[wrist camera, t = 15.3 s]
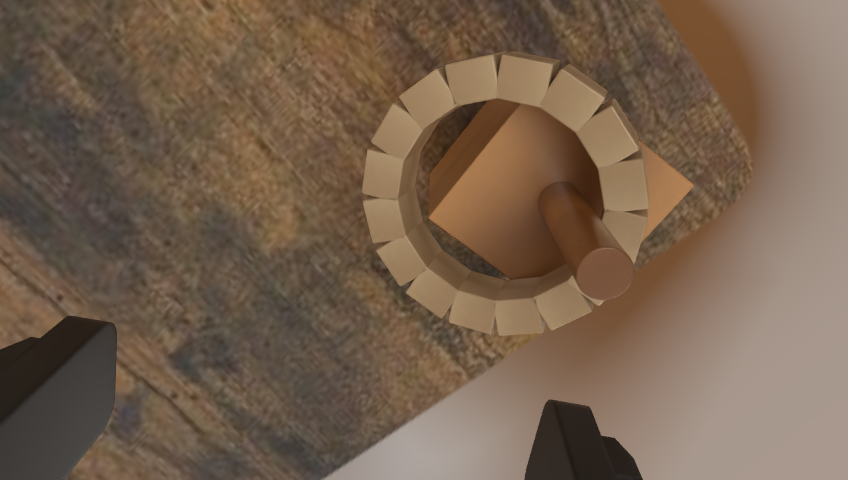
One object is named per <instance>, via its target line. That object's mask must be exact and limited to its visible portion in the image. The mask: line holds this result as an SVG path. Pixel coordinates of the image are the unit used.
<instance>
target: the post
mask: <svg viewBox="0 0 848 480" xmlns="http://www.w3.org/2000/svg"><path fill="white" fill-rule="evenodd" d="M557 74H558V73H557ZM639 147H642V148H643V153H644V161H645V168H646V176H647V184H648V192H649V208H648V221H647V224H646V228H645V231H644V234H643V237H642V241H643V240H644V239H645V238H646V237H647V236H648V235H649V234H650V233H651V231H652V230H653V229H654V228H655V227H656V226H657V225H658V224H659V223H660V222H661V221H662V220H663V219H664V218H665V217H666V215H667V214H668V213H669V212H670V211H671V210H672V209H673V208H674V207H675V206H676V205H677V204H678V203H679V202H680V201H681V199H682V198H683V197H684V196H685V195H686V194H687V193H688V192H689V191H690V190H691V189H692V188H693V187H694V185H693V184H692V183H691V182H690V181H689V180H688V179H686V178H685V177H684V176H683V175H681V174H680V173H679V172H678V171H677V170H675V169H674V168H673V167H672V166H671V165H669V164H668V163H667V162H666V161H665V160H663V159H662V158H661V157H660V156H659V155H657V154H656V153H655V152H654V151H653V150H651V149H650V148H649V147H648V146H647V145H645V144H644V143H643V142H642V141H640V140H639ZM602 211H603V200H602V193H601V187H600V180H599V173H598V168H597V167H596V165H595V164H594V162H593V160H592V159H591V157H590V156H589V154H588V152H587V151H586V149H585V148H584V146H583V144H582V143H581V141H580V140H579V138H578V136H577V135H576V133H575V132H574V131H572V130H571V129H570V128H568V127H567V126H565V125H564V124H562V123H561V122H560V121H558V120H557V119H555V118H554V117H552V116H551V115H550V114H548V113H547V112H545V111H544V110H542V109H541V108H540V107H535V106H530V105H526V104H521V103H516V102H512V101H507V100H502V99H498V98H497V99H492V100H487V102H486V103H485V104H484V105H483V107H482V108H481V109H480V110H479V112H478V113H477V114H476V116H475V117H474V118H473V119H472V121H471V122H470V123H469V124H468V126H467V127H466V128H465V129H464V131H463V132H462V133H461V135H460V136H459V137H458V138H457V140H456V141H455V142H454V143H453V145H452V146H451V147H450V148H449V150H448V151H447V152H446V154H445V155H444V156H443V157H442V159H441V160H440V161H439V162H438V164H437V165H436V166H435V167H434V169H433V170H432V171H431V173H430V179H429V204H428V219H430V220H431V221H432V222H434V223H435V224H436V225H438V226H439V227H440V228H442V229H443V230H444V231H446V232H447V233H449V234H450V235H451V236H453V237H454V238H455V239H457V240H458V241H459V242H461V243H462V244H463V245H465V246H466V247H468V248H469V249H470V250H472V251H473V252H474V253H476V254H477V255H478V256H480V257H481V258H482V259H484V260H485V261H487V262H488V263H489V264H491V265H492V266H493V267H495V268H496V269H497V270H499V271H500V272H501V273H503V274H504V275H506V276H507V277H508V278H510V279H511V280H513V279H523V278H534V277H542V276H544V275H546V274H548V273H550V272H551V271H553V270H555V269H557V268H559V267H561V266H563V265H565V264H567V265H568V267H569V269H570V271H571V273H572V275H573V277H574V279H575V281H576V283H577V285H578V287H579V288H580V290H581V291H582V292H583V293H584V294H585V295H587V296H588V297H590V298H593V299H596V300H610V299H613V298H615V297H618V296H619V295H621V294H623V293H624V292H625V291H626V290H627V289H628V287H629V286H630V285H631V282H632V280H633V277H634V265H633V262H632V260H631V258H630V257H629V255H628V254H627V253H626V252H625V250H624V249H623V248H622V246H621V245H620V244H619V243H618V241H617V240H616V239H615V237H614V236H613V235H612V234H611V232H610V231H609V230H608V228H607V227H606V226H605V225H604V223H603V222H602V221H601V219H600V218H601V214H602ZM642 241H641V242H642Z"/></svg>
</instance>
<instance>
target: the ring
mask: <svg viewBox="0 0 848 480" xmlns="http://www.w3.org/2000/svg"><path fill="white" fill-rule="evenodd" d="M559 65H560V60H557V59H552V58H547V57H542V56H537V55H532V54H527V53H522V52H517V51H513V52H509V53H506V54H505V52H504V51H502V52H498V53H493V54H489V55H484V56H480V57H475V58H471V59H466V60H462V61H457V62H453V63H449V64H446V65H445V67H442V68H438V69H435V70H434V71H432V72H431V73H429V74H428V75H427V76H425V77H424V78H423V79H421V80H420V81H419V82H417V83H416V84H414V85H413V86H412V87H410V88H409V89H408V90H406V91H405V92H404V93H402V94H401V95H400V96H399V98H400V100H401V101H398V102H395V103H393V104H392V105H391V107H390V109H389V110H388V112H387V114H386V115H385V117H384V119H383V121H382V122H381V124H380V126H379V127H378V129H377V131H376V133H375V134H374V136H373V138H372V139H371V142H372V143H373V144H374V145H376V146H374V147H372V148H370V149H368V150H367V156H366V164H365V171H364V178H363V186H362V193H363V194H367V195H371V196H370V197H368V198H367V199H365V200H364V201H363V206H364V210H365V214H366V218H367V223H368V227H369V231H370V235H371V239H372V242H373V243H380V242H385V243H384V244H383V245H381V246H380V247H379V248H378V249H377V250H376V251H377V253H378V255H379V256H380V258H381V259H382V261H383V262H384V264H385V265H386V267H387V268H388V269H389V271H390V272H391V274H392V275H393V277H394V278H395V280H396V281H397V283H398V284H399V286H403V285H405V284H406V283H408V282H410V281H412V280H413V279H414V281H413V282H412V284H411V285H410V287H409V288H408V290H407V291H406V293H407V294H408V295H409V296H411V297H412V298H413V299H415V300H416V301H418V302H419V303H420V304H422V305H423V306H424V307H426V308H427V309H428V310H430V311H431V312H433V313H434V314H435V315H437V316H438V317H439V318H442V317H443V316H444V315H445V313H446V312H447V311H448V309H449V308H450V307H451V311H450V316H449V322H450V323H453V324H456V325H460V326H463V327H466V328H470V329H473V330H476V331H480V332H483V333H487V334H491V333H492V331H493V329H494V327H495V325H497V330H498V334H499V336H504V335H519V334H534V333H543V332H544V329H545V325H546V323H547V325H548V326H549V328H550V329H551V330H554V329H556V328H558V327H560V326H562V325H565V324H566V323H569V322H571V321H573V320H574V319H577V318H579V317H581V316H583V315H586V314H588V313H590V312H591V311H592V309H593V302H594V303H595V304H597V305H598V306H600V305H601V304H602V303H603V302H604V300H596V299H593V298H590V297H588V296H587V295H585V294H584V293H583V292H582V291H581V290H580V288H579V287H578V285H577V283H576V281H575V279H574V277H573V275H572V273H571V271H570V269H569V267H568V265H567V264H565V265H563V266H561V267H559V268H557V269H555V270H553V271H551V272H550V273H548V274H546V275H544V276H542V277H534V278H523V279H513V280H503V279H499V278H495V277H492V276H488V275H485V274H481V273H477V272H474V271H471V270H470V269H468V268H467V267H466V266H464V265H463V264H461V263H460V262H459V261H457V260H456V259H455V258H453V257H452V256H450V255H449V254H448V253H446V252H445V251H443V250H442V249H441V247H440V246H439V244H438V243H437V241H436V240H435V238H434V237H433V235H432V234H431V232H430V231H429V229H428V228H427V226H426V225H425V223H424V222H423V220H422V215H421V211H420V206H419V202H418V197H417V193H416V188H415V184H416V178H417V172H418V166H419V160H420V154H421V150H422V148H423V147H424V145H425V144H426V142H427V140H428V139H429V137H430V136H431V134H432V132H433V131H434V129H435V128H436V126H437V125H438V123H439V121H440V120H442V119H443V118H445V117H446V116H448V115H449V114H450V113H452V112H453V111H455V110H456V109H458V108H459V107H461V106H462V105H466V104H471V103H476V102H482V101H487V100H492V99H497V98H498V99H502V100H507V101H512V102H516V103H521V104H526V105H530V106H535V107H540V108H541V109H542V110H544V111H545V112H547V113H548V114H550V115H551V116H552V117H554V118H555V119H557V120H558V121H560V122H561V123H562V124H564V125H565V126H567V127H568V128H570V129H571V130H572V131H574V132H575V133H576V135H577V136H578V138H579V140H580V141H581V143H582V144H583V146H584V148H585V149H586V151H587V152H588V154H589V156H590V157H591V159H592V160H593V162H594V164H595V165H596V167H597V168H598V173H599V180H600V187H601V193H602V200H603V211H602V214H601V218H600V219H601V221H602V222H603V223H604V225H605V226H606V227H607V228H608V230H609V231H610V232H611V234H612V235H613V236H614V237H615V239H616V240H617V241H618V243H619V244H620V245H621V246H622V248H623V249H624V250H625V252H626V253H627V254H628V255H629V257H630V258H631V260H632V262H633V263H635V260H636V257H637V254H638V250H639V247H640V244H641V241H642V237H643V234H644V231H645V228H646V224H647V221H648V208H649V192H648V184H647V176H646V168H645V161H644V153H643V148H642V147H639V137H638V135H637V133H636V132H635V130H634V128H633V127H632V125H631V124H630V122H629V120H628V119H627V117H626V115H625V114H624V112H623V111H622V109H621V107H620V106H619V104H618V102H617V101H616V99H615V98H613V99H611V100H609V101H608V102H606V103H605V104H603V105H601V104H602V103H603V101H604V100H605V97H606V95H607V92H608V91H607V90H606V89H604V88H603V87H602V86H600V85H599V84H597V83H596V82H594V81H593V80H591V79H590V78H589V77H587V76H586V75H584V74H583V73H581V72H580V71H578V70H577V69H576V68H574V67H573V66H571V65H569V64H568V65H567V66H565V67H564V68H562V69H561V70H560V71H559V72H558V69H559ZM557 73H558V74H557ZM600 105H601V106H600ZM451 305H452V306H451Z"/></svg>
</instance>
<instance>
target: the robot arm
mask: <svg viewBox="0 0 848 480" xmlns="http://www.w3.org/2000/svg"><path fill="white" fill-rule="evenodd" d="M116 350H117V331H116V327H115V325H114V324H113V323H111V322H105V321H99V320H93V319H88V318H82V317H76V316H68V317H66V318H64V319H63V320H62V321H61V322H59V323H58V324H57V325H56V326H55V327H53V328H52V329H51V330H50V331H48V332H47V333H46V334H45V335H44V336H42V337H41V338H34V337H30V338H28V339H25V340H23V341H20V342H18V343H15V344H13V345H10V346H8V347H6V348H3V349H1V350H0V480H64V479H65V478H66V477H67V475H68V474H69V473H70V472H71V470H72V469H73V468H74V467H75V465H76V464H77V463H78V462H79V460H80V459H81V458H82V457H83V455H84V454H85V453H86V452H87V450H88V449H89V448H90V447H91V445H92V444H93V443H94V442H95V440H96V439H97V438H98V437H99V435H100V434H101V433H102V432H103V430H104V429H105V427H106V425H107V423H108V421H109V418H110V416H111V413H112V410H113V406H114V400H115V381H116ZM525 480H643V479H642V477H641V474H640V472H639V470H638V467H637V465H636V463H635V461H634V459H633V457H632V456H631V455H630V454H629V453H628V452H627V451H626V450H625V449H624V448H623V447H622V446H621V444H620V443H619V442H618V441H617V440H616V439H615V438H611V437H606V436H601V434H600V432H599V429H598V427H597V424H596V421H595V418H594V416H593V413H592V411H591V409H590V407H589V406H585V405H579V404H572V403H567V402H562V401H556V400H548V401H547V402H546V404H545V406H544V409H543V412H542V416H541V419H540V423H539V426H538V430H537V433H536V437H535V440H534V444H533V447H532V451H531V454H530V458H529V461H528V465H527V469H526V473H525Z"/></svg>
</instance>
